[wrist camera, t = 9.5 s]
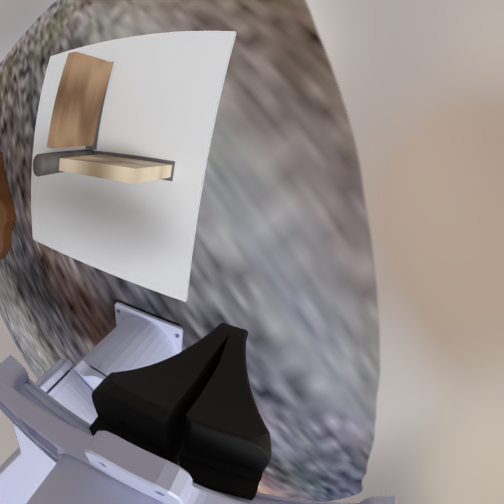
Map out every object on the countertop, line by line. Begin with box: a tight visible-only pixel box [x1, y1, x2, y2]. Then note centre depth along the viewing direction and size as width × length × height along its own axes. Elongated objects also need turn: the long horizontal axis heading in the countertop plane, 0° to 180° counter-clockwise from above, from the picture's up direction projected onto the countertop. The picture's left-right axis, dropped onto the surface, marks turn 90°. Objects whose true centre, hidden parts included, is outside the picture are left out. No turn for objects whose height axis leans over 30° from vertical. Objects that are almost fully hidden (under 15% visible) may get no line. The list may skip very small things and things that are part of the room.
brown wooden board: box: [47, 52, 113, 148], centre depth 17 cm, size 8×1×5 cm, turn 165°
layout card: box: [31, 31, 236, 302], centre depth 21 cm, size 23×23×1 cm
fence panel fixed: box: [33, 149, 172, 184], centre depth 18 cm, size 10×2×6 cm, turn 78°
